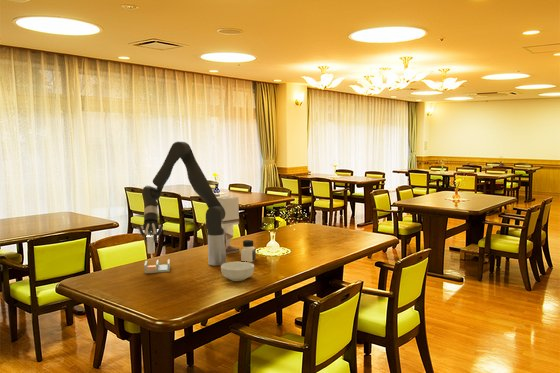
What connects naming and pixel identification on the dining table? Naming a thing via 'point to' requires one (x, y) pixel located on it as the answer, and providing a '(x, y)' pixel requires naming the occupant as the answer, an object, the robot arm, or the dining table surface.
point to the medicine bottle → (248, 251)
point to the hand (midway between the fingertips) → (150, 241)
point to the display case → (229, 220)
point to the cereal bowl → (237, 270)
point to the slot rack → (157, 267)
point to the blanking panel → (150, 242)
